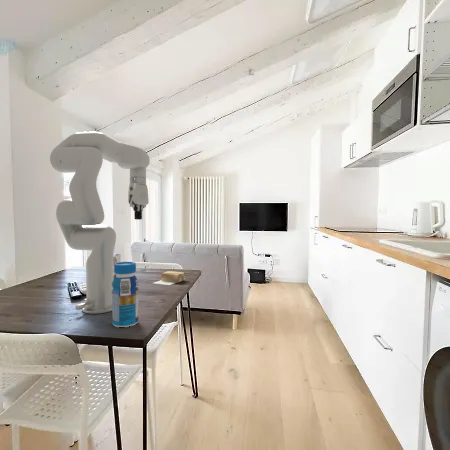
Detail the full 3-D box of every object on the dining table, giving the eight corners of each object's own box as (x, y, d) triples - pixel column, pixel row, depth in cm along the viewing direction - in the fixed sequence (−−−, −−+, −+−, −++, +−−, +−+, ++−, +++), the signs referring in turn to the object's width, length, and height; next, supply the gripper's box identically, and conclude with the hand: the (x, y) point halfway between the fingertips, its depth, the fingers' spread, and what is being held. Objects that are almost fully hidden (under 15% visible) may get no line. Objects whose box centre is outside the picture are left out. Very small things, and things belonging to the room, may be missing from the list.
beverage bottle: (106, 326, 94) (105, 264, 93) (123, 317, 102) (123, 260, 101) (127, 330, 91) (127, 266, 90) (144, 320, 99) (143, 262, 98)
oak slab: (177, 275, 151) (184, 272, 157) (161, 273, 155) (168, 270, 161) (177, 282, 151) (184, 279, 158) (161, 280, 155) (168, 278, 162)
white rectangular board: (169, 285, 146) (169, 285, 146) (152, 283, 150) (152, 283, 150) (185, 279, 161) (185, 278, 161) (170, 277, 165) (170, 276, 165)
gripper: (133, 179, 133) (134, 219, 134) (153, 182, 147) (153, 219, 148) (120, 180, 136) (121, 219, 137) (141, 183, 150) (141, 219, 151)
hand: (138, 219), depth 142 cm, fingers closed
